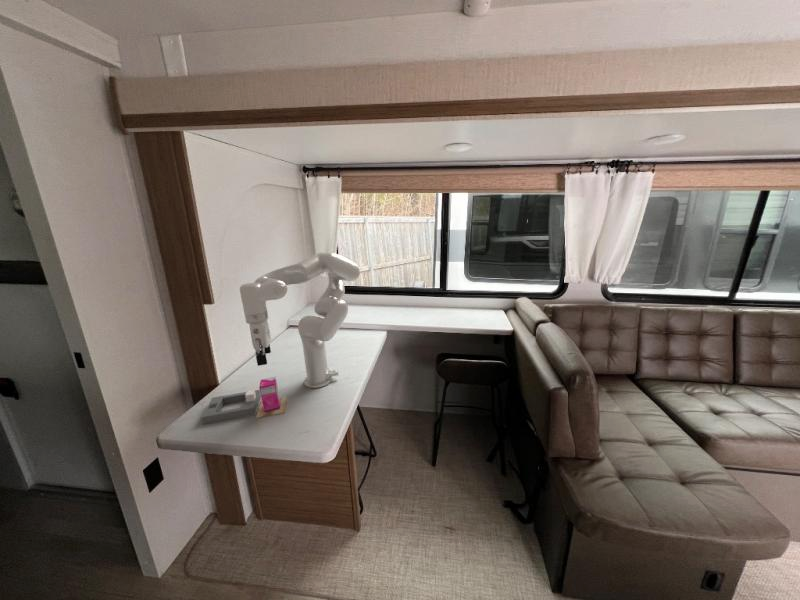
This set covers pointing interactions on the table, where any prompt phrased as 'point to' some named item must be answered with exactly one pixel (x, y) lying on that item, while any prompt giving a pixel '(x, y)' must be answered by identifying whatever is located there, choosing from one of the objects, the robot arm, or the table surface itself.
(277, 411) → the coaster
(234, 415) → the grey rectangular frame
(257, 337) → the robot arm
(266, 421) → the table surface
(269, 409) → the supplement box
